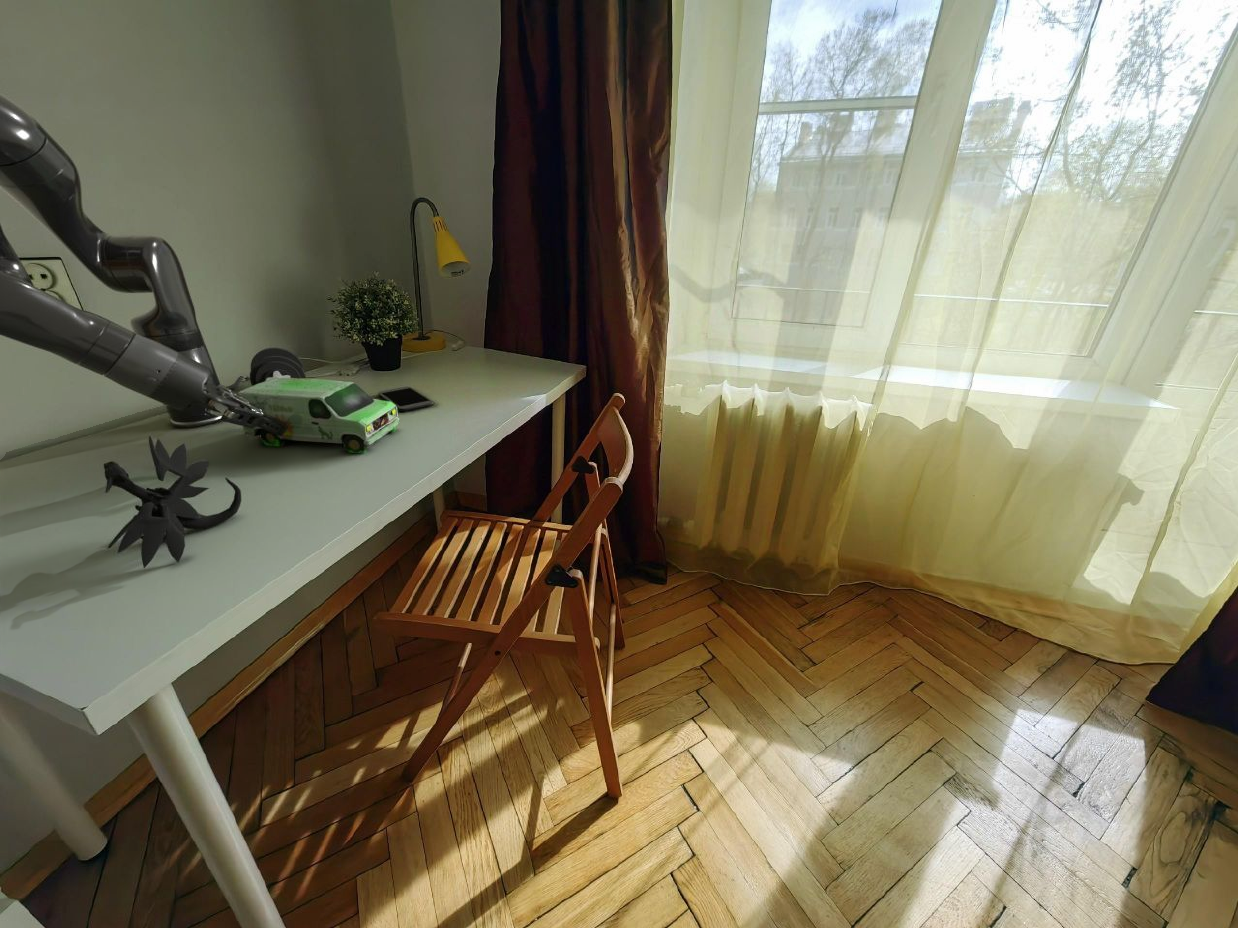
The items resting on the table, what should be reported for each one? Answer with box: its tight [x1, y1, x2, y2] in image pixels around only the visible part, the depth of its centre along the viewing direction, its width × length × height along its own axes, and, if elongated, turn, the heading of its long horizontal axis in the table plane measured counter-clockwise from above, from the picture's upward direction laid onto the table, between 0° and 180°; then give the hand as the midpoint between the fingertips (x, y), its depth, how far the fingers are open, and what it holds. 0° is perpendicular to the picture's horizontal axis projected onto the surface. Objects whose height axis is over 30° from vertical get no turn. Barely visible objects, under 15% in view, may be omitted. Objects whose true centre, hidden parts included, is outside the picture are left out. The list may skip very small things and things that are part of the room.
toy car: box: [237, 378, 400, 454], centre depth 88 cm, size 11×25×10 cm, turn 81°
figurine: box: [103, 435, 242, 569], centre depth 59 cm, size 16×13×11 cm
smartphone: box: [377, 386, 435, 412], centre depth 108 cm, size 7×15×1 cm, turn 42°
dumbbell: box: [249, 347, 307, 386], centre depth 108 cm, size 22×10×10 cm, turn 33°
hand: (284, 430), depth 83 cm, fingers closed
